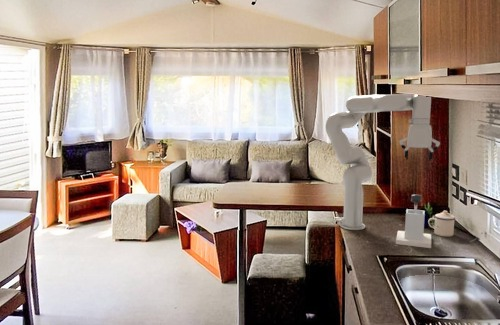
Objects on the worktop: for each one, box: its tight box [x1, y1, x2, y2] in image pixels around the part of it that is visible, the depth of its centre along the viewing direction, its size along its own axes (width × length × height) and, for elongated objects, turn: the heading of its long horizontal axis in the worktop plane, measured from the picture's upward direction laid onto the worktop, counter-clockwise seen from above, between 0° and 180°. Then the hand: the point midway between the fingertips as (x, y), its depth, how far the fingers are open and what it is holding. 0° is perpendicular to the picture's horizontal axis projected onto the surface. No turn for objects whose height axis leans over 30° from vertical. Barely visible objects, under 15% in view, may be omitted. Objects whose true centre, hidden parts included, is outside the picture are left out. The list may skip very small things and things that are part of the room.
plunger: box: [410, 193, 423, 214], centre depth 206 cm, size 6×6×18 cm
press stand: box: [395, 208, 432, 249], centre depth 206 cm, size 15×15×14 cm
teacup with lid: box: [427, 210, 456, 238], centre depth 218 cm, size 12×9×12 cm
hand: (418, 159), depth 202 cm, fingers open, 9 cm apart
